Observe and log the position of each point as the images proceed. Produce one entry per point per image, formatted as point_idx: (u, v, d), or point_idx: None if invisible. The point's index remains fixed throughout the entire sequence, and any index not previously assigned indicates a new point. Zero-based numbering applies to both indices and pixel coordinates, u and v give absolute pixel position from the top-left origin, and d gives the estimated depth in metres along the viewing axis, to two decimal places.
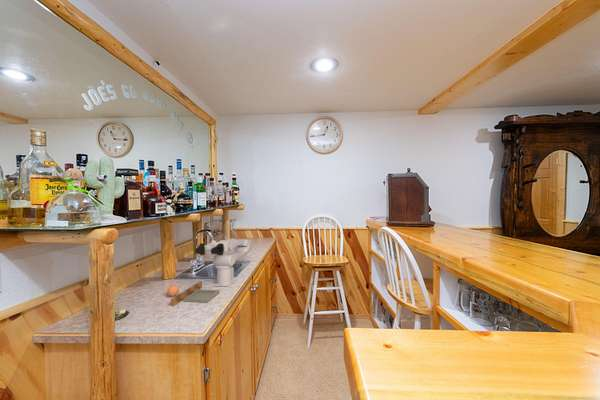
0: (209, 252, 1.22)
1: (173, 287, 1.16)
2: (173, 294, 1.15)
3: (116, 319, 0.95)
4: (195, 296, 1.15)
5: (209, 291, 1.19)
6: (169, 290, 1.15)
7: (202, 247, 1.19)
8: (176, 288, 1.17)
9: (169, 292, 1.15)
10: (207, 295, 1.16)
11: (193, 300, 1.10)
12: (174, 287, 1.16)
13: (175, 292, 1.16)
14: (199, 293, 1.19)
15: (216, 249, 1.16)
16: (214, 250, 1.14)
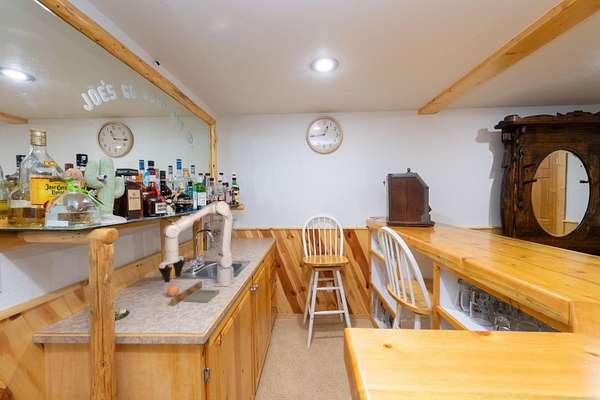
0: (178, 260, 1.19)
1: (173, 287, 1.16)
2: (173, 294, 1.15)
3: (116, 319, 0.95)
4: (195, 296, 1.15)
5: (209, 291, 1.19)
6: (169, 290, 1.15)
7: (175, 266, 1.21)
8: (176, 288, 1.17)
9: (169, 292, 1.15)
10: (207, 295, 1.16)
11: (193, 300, 1.10)
12: (174, 287, 1.16)
13: (175, 292, 1.16)
14: (199, 293, 1.19)
15: (165, 274, 1.13)
16: (165, 279, 1.13)
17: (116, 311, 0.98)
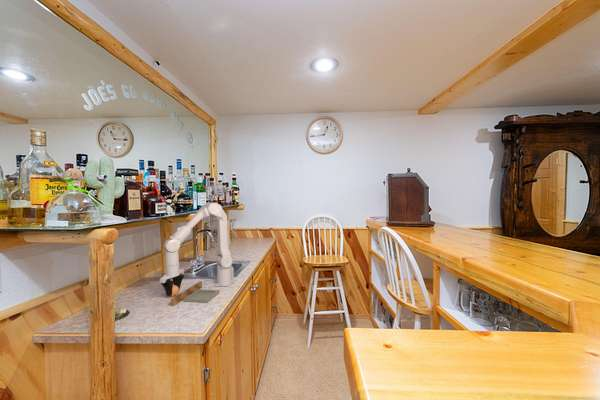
0: None
1: (173, 287, 1.16)
2: (173, 294, 1.15)
3: (116, 319, 0.95)
4: (195, 296, 1.15)
5: (209, 291, 1.19)
6: None
7: (174, 280, 1.20)
8: (176, 288, 1.17)
9: None
10: (207, 295, 1.16)
11: (193, 300, 1.10)
12: (174, 287, 1.16)
13: (175, 292, 1.16)
14: (199, 293, 1.19)
15: (167, 288, 1.14)
16: (167, 292, 1.14)
17: (116, 311, 0.99)
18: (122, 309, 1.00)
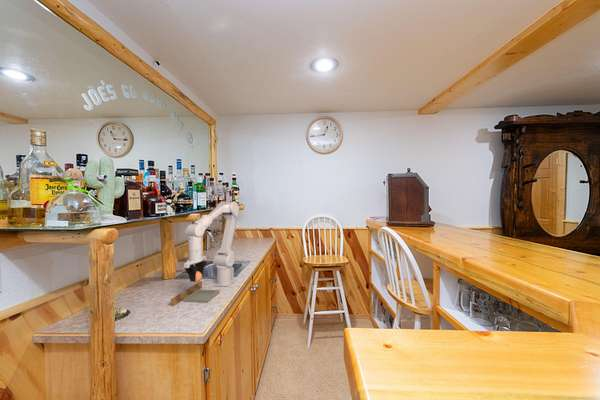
0: None
1: (196, 273, 1.14)
2: (196, 280, 1.13)
3: (116, 319, 0.95)
4: (195, 296, 1.15)
5: (209, 291, 1.19)
6: None
7: None
8: (199, 274, 1.15)
9: None
10: (207, 295, 1.16)
11: (193, 300, 1.10)
12: (197, 273, 1.14)
13: (198, 278, 1.14)
14: (199, 293, 1.19)
15: (191, 273, 1.12)
16: (191, 278, 1.12)
17: (117, 311, 0.99)
18: (123, 309, 1.00)
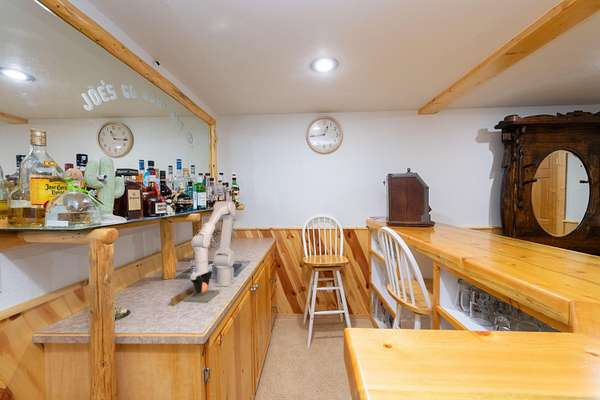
0: None
1: (202, 284, 1.14)
2: (203, 291, 1.13)
3: (117, 318, 0.95)
4: (195, 296, 1.15)
5: (209, 291, 1.19)
6: None
7: (203, 277, 1.18)
8: (205, 285, 1.14)
9: None
10: (207, 295, 1.16)
11: (193, 300, 1.10)
12: (203, 284, 1.14)
13: (205, 289, 1.13)
14: (199, 293, 1.19)
15: (197, 285, 1.12)
16: (197, 290, 1.12)
17: (117, 310, 0.99)
18: (123, 309, 1.00)
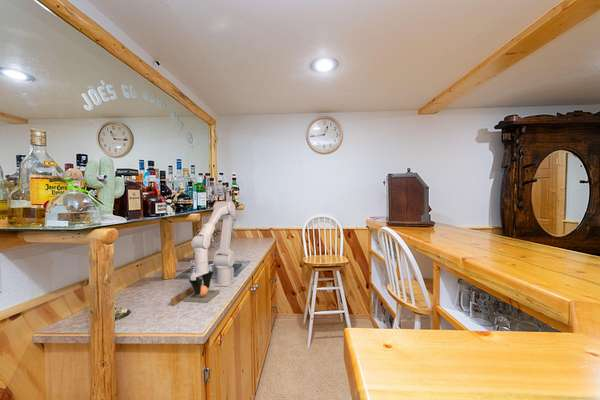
0: None
1: (203, 287, 1.14)
2: (203, 294, 1.13)
3: (117, 318, 0.95)
4: (195, 296, 1.15)
5: (209, 291, 1.19)
6: None
7: (204, 277, 1.19)
8: (206, 288, 1.14)
9: None
10: (207, 295, 1.16)
11: (193, 300, 1.10)
12: (204, 287, 1.14)
13: (205, 292, 1.13)
14: None
15: (196, 286, 1.11)
16: (196, 291, 1.11)
17: (118, 310, 0.99)
18: (123, 309, 1.00)
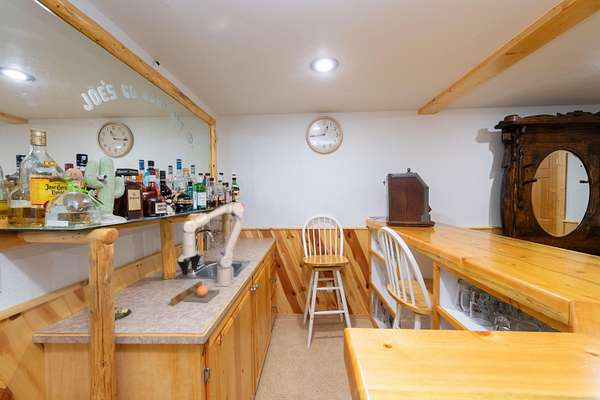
0: (195, 254, 1.24)
1: (203, 287, 1.14)
2: (203, 294, 1.13)
3: (117, 318, 0.95)
4: (195, 296, 1.15)
5: (209, 291, 1.19)
6: (199, 290, 1.13)
7: (192, 260, 1.26)
8: (205, 288, 1.14)
9: (199, 292, 1.13)
10: (207, 295, 1.16)
11: (193, 300, 1.10)
12: (204, 287, 1.14)
13: (205, 292, 1.13)
14: None
15: (183, 268, 1.18)
16: (184, 272, 1.18)
17: (118, 310, 0.99)
18: (124, 308, 1.01)
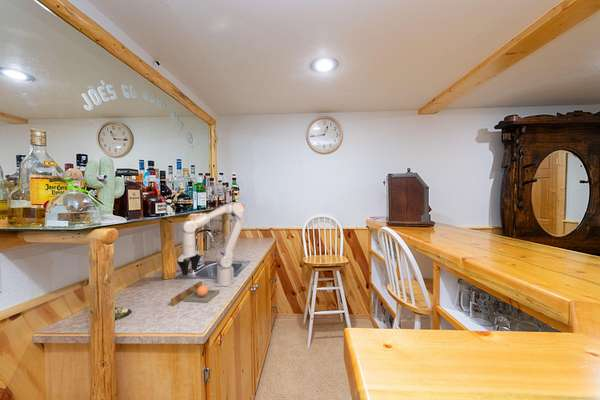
0: (195, 254, 1.24)
1: (203, 287, 1.14)
2: (203, 294, 1.13)
3: (117, 318, 0.95)
4: (195, 296, 1.15)
5: (209, 291, 1.19)
6: (199, 290, 1.13)
7: (192, 260, 1.26)
8: (205, 288, 1.14)
9: (199, 292, 1.13)
10: (207, 295, 1.16)
11: (193, 300, 1.10)
12: (204, 287, 1.14)
13: (205, 292, 1.13)
14: None
15: (183, 268, 1.18)
16: (184, 272, 1.18)
17: (118, 310, 0.99)
18: (124, 308, 1.01)
